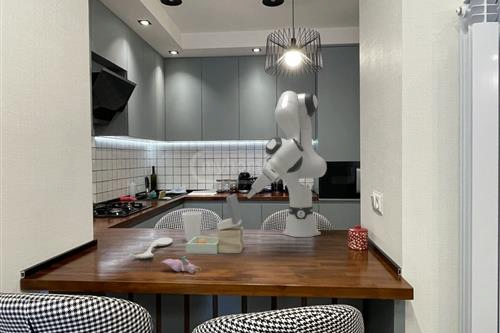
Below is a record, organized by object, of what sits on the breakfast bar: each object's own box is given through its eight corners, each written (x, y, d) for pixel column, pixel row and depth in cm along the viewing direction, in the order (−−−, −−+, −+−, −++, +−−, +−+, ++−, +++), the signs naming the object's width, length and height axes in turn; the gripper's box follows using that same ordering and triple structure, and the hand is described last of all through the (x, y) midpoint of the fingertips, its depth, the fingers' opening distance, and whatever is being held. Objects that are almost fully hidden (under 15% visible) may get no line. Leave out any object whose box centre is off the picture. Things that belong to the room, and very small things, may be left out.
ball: (199, 247, 150) (198, 238, 150) (208, 246, 150) (206, 237, 150) (196, 249, 146) (195, 240, 146) (205, 248, 146) (204, 239, 146)
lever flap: (243, 220, 152) (235, 193, 152) (237, 226, 138) (229, 197, 138) (224, 225, 153) (216, 198, 154) (216, 231, 140) (208, 202, 140)
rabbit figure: (202, 274, 120) (166, 263, 125) (204, 257, 120) (168, 248, 125) (194, 280, 114) (156, 269, 119) (196, 263, 114) (157, 252, 119)
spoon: (128, 263, 132) (128, 254, 132) (156, 242, 164) (156, 235, 164) (151, 263, 131) (151, 254, 131) (175, 242, 163) (175, 235, 163)
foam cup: (204, 237, 170) (203, 211, 170) (200, 242, 161) (199, 214, 161) (185, 237, 171) (185, 211, 171) (180, 242, 162) (179, 214, 162)
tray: (195, 245, 155) (195, 236, 155) (223, 245, 153) (223, 236, 153) (186, 253, 142) (185, 243, 142) (216, 254, 140) (216, 244, 140)
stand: (223, 247, 151) (222, 226, 151) (243, 247, 150) (243, 226, 150) (218, 252, 142) (217, 231, 142) (239, 253, 141) (239, 231, 141)
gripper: (269, 166, 153) (248, 188, 155) (264, 167, 133) (240, 193, 135) (279, 175, 153) (258, 197, 154) (275, 179, 132) (251, 204, 134)
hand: (249, 195), depth 144 cm, fingers open, 8 cm apart
